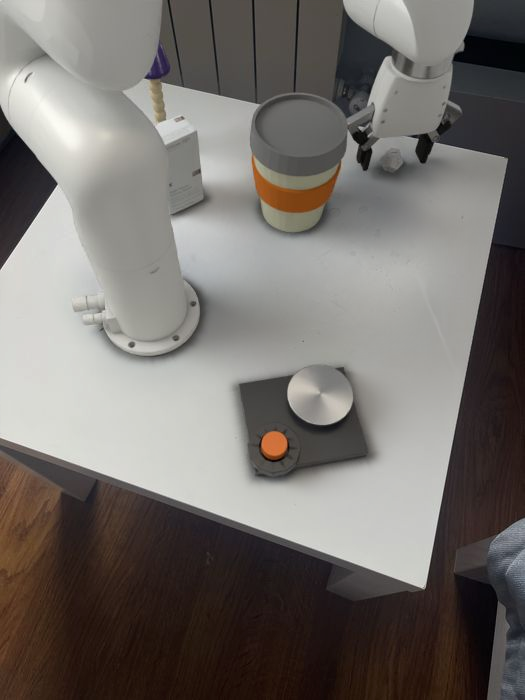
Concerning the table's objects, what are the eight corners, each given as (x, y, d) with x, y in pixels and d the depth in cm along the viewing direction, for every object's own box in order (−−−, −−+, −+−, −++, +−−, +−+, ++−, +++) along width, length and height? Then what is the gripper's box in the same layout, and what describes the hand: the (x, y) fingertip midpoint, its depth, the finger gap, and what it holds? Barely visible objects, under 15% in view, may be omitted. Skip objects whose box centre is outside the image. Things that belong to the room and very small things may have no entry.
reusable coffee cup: (302, 256, 76) (312, 174, 62) (232, 214, 79) (228, 129, 66) (350, 203, 81) (369, 117, 67) (282, 167, 84) (288, 78, 71)
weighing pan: (294, 431, 60) (295, 430, 59) (281, 371, 63) (281, 369, 63) (360, 420, 61) (361, 418, 60) (343, 361, 64) (343, 359, 64)
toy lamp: (152, 134, 87) (132, 31, 73) (180, 133, 87) (166, 31, 73) (151, 155, 85) (130, 53, 70) (180, 154, 85) (166, 52, 70)
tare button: (263, 462, 59) (264, 457, 57) (259, 438, 60) (259, 433, 59) (289, 457, 59) (289, 453, 57) (283, 433, 60) (284, 429, 59)
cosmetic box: (171, 216, 79) (158, 149, 68) (155, 198, 81) (140, 130, 70) (206, 198, 81) (199, 130, 70) (190, 181, 82) (181, 112, 72)
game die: (376, 159, 85) (380, 144, 83) (399, 159, 85) (404, 144, 83) (379, 175, 84) (383, 160, 81) (403, 175, 84) (408, 160, 81)
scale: (253, 484, 60) (253, 476, 57) (236, 389, 66) (235, 378, 63) (368, 463, 61) (373, 455, 59) (341, 371, 67) (345, 360, 64)
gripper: (475, 30, 71) (436, 138, 86) (348, 43, 69) (331, 151, 84) (497, 65, 67) (452, 171, 82) (364, 79, 66) (343, 185, 81)
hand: (391, 161), depth 83 cm, fingers open, 8 cm apart
